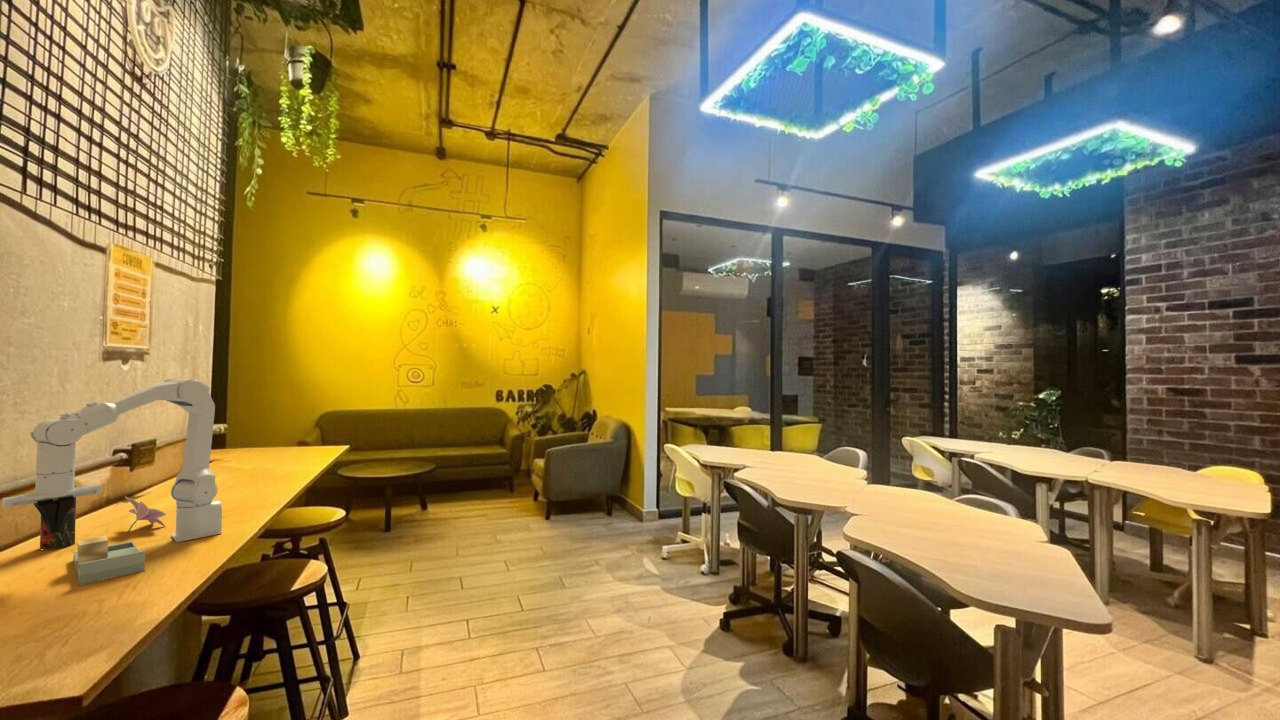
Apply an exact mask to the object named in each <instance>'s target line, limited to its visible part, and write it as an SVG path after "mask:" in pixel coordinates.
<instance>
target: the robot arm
mask: <svg viewBox="0 0 1280 720" xmlns="http://www.w3.org/2000/svg"><path fill="white" fill-rule="evenodd" d="M210 388H211V387H210V386H208V385H207V384H206V383H204V382H203V381H201V380H200V379H195V378H192V379H191V378H190V379H186V378H185V379H183V378H182V379H181V378H180V379H179V378H167V379H165V380H163V381H159V382H155V383H153V384H151V385H149V386H147V387H144V388H142V389H140V390H137V391H134V392H133V393H131V394H128V395H126V396H123V397H121V398H119V399H116V400H114V401H112V402H110V403H109V402H106V401H98V402H96V401H91V402H86V404H85V407H82V408H79V409H77V410H74V411H71V412H64V413H61V414H60V417H59V418H58V419H57V418H48V419H46V420H42V421H41V422H39V423H37V425H36V426H35V427H34V428H33V430H32V431H31V432H30V437H31V439H32V440H33V441H34V442H36V443H37V444H36V446H37V447H36V461H35V464H36V465H35V466H36V467H35V485H34V486H35V487H34V489H35V490H34V492H32V493H25V494H21V495H14V496H10V497H9V496H8V497H7V496H6V497H2V499H1V507H2V509H9V508H13V507H17V506H24V505H25V506H26V505H32V504H33V505H34V508H36V510H37V511H38V512H39V513H40V516H41V515H42V517H43V519H44V521H45V524H46V527H47V533H49V534H52V533H58V532H60V528H61V525H62V522H63V520H64V518H65V516H66V514H67V513H68V511H69V510H70V508H71V507H72V506H73V505H74V503H75V499H73V497H76V498H78V497H83V496H84V497H85V496H91V495H102V494H103V485H102V484H101V485H100V484H94V485H84V486H77V487H74V486H75V480H76V479H75V476H76V475H75V474H76V472H75V471H76V454H77V453H76V445H77V444H76V443H77V442H79V441H80V440H81V438H83V436H85V435H87V434H89V433H92V432H94V431H96V430H99V429H101V428H104V427H106V426H109V425H111V424H113V423H115V422H117V420H118V419H119V416H120V415H122V414H124V413H126V412H130V411H132V410H135V409H137V408H140V407H142V406H146V405H148V404H151V403H154V402H156V401H166V402H168V403H172V404H174V405H176V406H177V405H178V406H179V407H180V408H181V409H183V410H184V411H186V412H187V413H188V418H187V427H186V428H187V429H186V437H185V446H184V456H183V457H184V458H183V464H182V470H181V471H179V473H177V475H176V478H175V482H174V483H173V485H172V487H170V488H171V489H170V495H171V498H172V499H173V500H174V501H175V502H176V503H175V504H176V507H175V509H176V513H175V514H176V515H175V523H176V524H175V533H171V537H172V539H174V541H175V542H176V543H181V542H185V541H189V540H190V541H191V540H196V539H200V538H201V539H202V538H205V537H211V536H215V535H221V534H222V533H223V531H222V523H223V521H222V520H223V519H222V518H223V510H222V509H223V507H222V502H221V501H220V500H214V499H215V498H216V496H217V494H218V491H219V489H218V485H217V484H216V483H217V482H216V475H215V474H214V472H213V471H212V470H211V469H210V462H211V461H210V460H211V452H212V443H213V434H214V432H213V431H214V423H215V422H214V421H215V413H216V412H215V410H216V404H215V403H214V400H213V398H212V396H211V394H210V390H211V389H210ZM67 495H69V496H67ZM61 496H62V497H61ZM54 497H55V498H54ZM45 498H48V499H45Z"/></svg>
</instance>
